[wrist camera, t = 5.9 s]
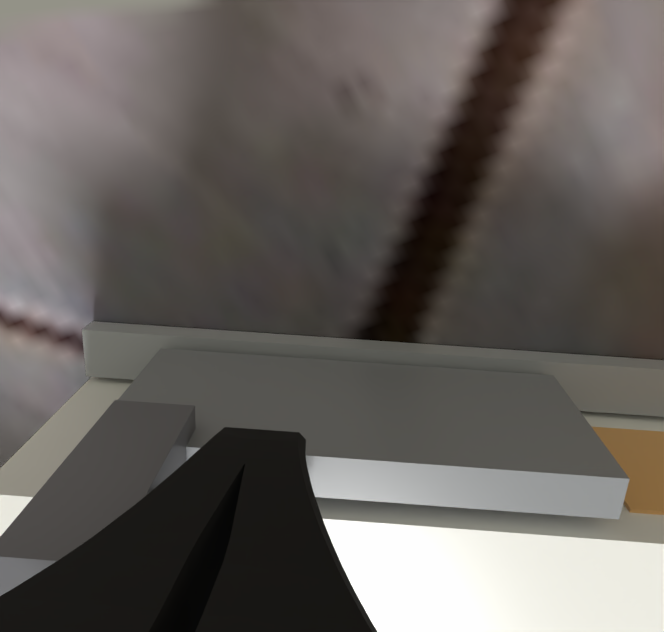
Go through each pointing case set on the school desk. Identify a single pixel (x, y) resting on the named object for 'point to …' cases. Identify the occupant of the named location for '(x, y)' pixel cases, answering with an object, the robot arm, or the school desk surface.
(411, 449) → the side door
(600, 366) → the camera housing
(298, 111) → the school desk surface
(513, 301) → the school desk surface
